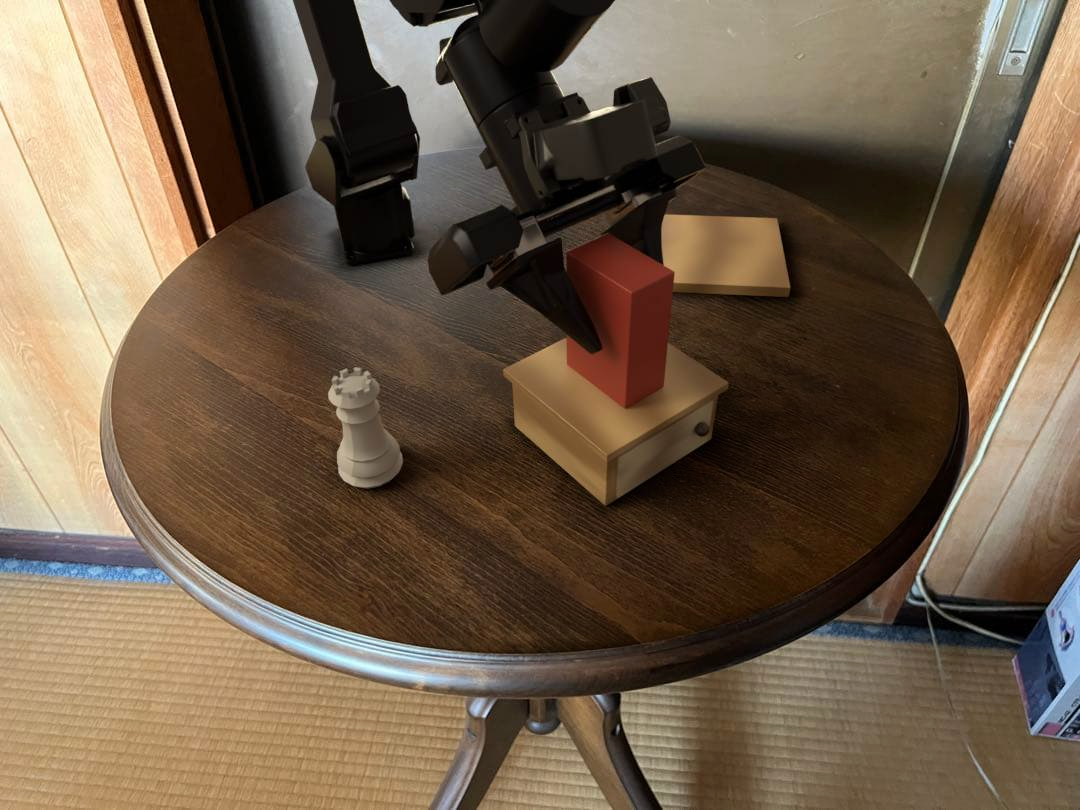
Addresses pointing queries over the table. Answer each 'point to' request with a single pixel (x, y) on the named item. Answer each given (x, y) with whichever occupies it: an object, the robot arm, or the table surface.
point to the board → (725, 255)
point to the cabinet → (612, 419)
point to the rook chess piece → (363, 432)
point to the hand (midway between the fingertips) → (631, 334)
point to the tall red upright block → (622, 317)
